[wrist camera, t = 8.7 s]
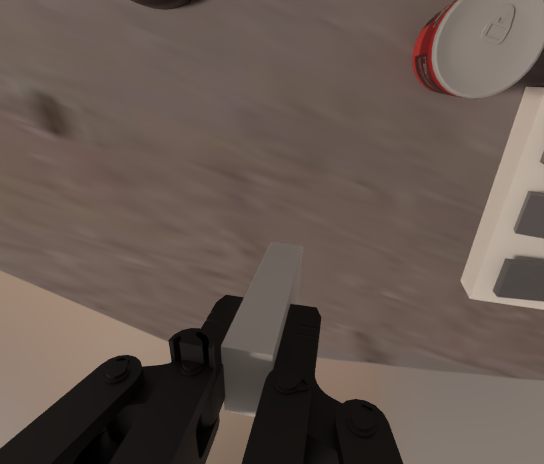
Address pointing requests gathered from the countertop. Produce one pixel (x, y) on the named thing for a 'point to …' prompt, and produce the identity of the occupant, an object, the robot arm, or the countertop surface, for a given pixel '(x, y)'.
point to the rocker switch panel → (510, 205)
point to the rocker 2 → (542, 158)
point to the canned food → (479, 46)
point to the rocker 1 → (521, 280)
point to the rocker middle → (531, 216)
